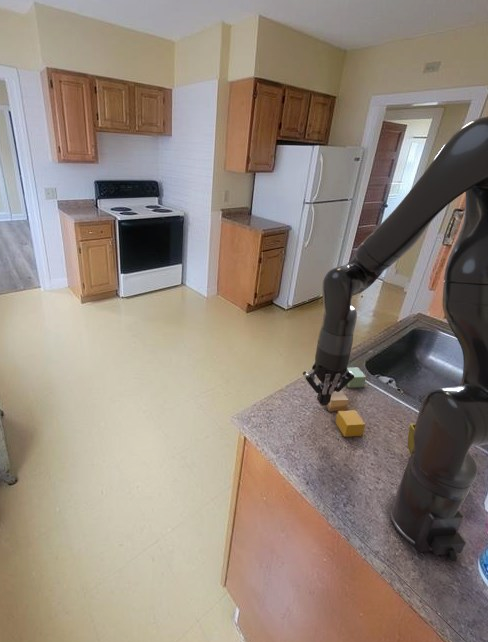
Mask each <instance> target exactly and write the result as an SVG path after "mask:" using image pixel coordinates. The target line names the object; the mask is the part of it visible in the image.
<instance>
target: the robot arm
mask: <svg viewBox="0 0 488 642" xmlns="http://www.w3.org/2000/svg"><path fill="white" fill-rule="evenodd" d="M463 194H465V203H464V204H465V205H464V217H463V221H462V226H461V228H460V231H459V233H458V235H457V238H456V239H455V243H454V245H453V247H452V249H451V252H450V254H449V256H448V259H447V261H446V264H445V269H444V275H443V285H442V286H443V287H442V299H441V300H442V301H441V303H442V312H443V314H444V317H445V320H446V321H447V324H448V327H449V328H450V330H451V331H452V333H453V334H454V337H455V338H456V339H457V341H458V344H459V346H460V348H461V352H462V358H463V368H462V377H461V382H460V385H456V386H446V387H445V386H444V387H437V388H433V389H431V390H430V391H428V392H427V393H425V394H426V395H424V398H423V399H422V402H421V404H420V407H419V410H418V414H417V418H416V421H415V424H416V425H415V429H414V448H413V451H412V453H411V454H410V456H409V459H408V462H407V464H406V467H405V469H404V472H403V475H402V478H401V480H400V482H399V486H398V489H397V491H396V494H395V497H394V499H393V502H392V504H391V505H390V510H389V516H390V517H389V518H390V520H391V522H392V525H393V526H394V528H395V529H396V531H397V532H398V534H399V535H401V537H402V538H403V539H404V540H406V541H407V542H408V543H409V544H410V545H412V546H413V547H414V548H415V550H416V551H417V553H427V552H433V554H434V555H435V556H442V555H443V556H444V557H445V558H446V560H448V561H449V562H456V561H457V559H458V556H457V554H461V553H462V551H463V549H464V548H465V546H466V544H467V542H466V541H465V540H464V538H463V537H462V536H461V534H460V533H459V532H458V531H459V528H460V526H461V524H462V523H463V520H464V518H465V516H464V515H463V513H462V512H461V509H462V507H463V505H464V503H465V501H466V499H467V497H468V495H469V492H470V491H471V489H472V487H473V485H474V482H475V481H476V479H477V477H478V473H479V467H478V464H477V461H476V459H475V457H474V456H473V455H472V453H470V449H471V448H472V447H478V446H486V445H488V115H487V116H482V117H479V118H476V119H474V120H471V121H470V122H468V123H466V124H464V125H463V126H462V127H461V128H459V129H458V130H457V131H455V133H454V134H453V135H452V136H451V137H450V138H449V140H448V141H447V142H446V143H445V144H444V145H443V147H442V148H441V150H439V152H438V154H437V155H436V156H435V157H434V159H433V160H432V161H431V163H430V164H429V166H428V167H427V168H426V170H425V171H424V173H423V174H422V175H421V176H420V177H419V179H418V180H416V183H415V184H414V185H413V186H412V188H411V189H410V191H408V193H407V194H406V195H405V196H404V198H403V199H402V200H401V201H400V202H399V204H398V205H397V206H396V208H394V209H393V211H392V212H391V213H390V214H389V215H388V216H387V217H386V218H385V219H384V220H383V222H381V223H380V224H379V225H378V226H376V228H375V229H374V230H373V231H372V232H371V233H370V234H369V235H368V236H367V237H366V238H365V239H364V240H363V241H362V242H361V243H360V244H359V246H358V247H357V248H356V250H355V253H354V257H353V258H352V259H351V260H350V261H349V262H348V263H346V264H343V265H340V266H337V267H334V268H331V269H329V270H328V272H327V273H326V274H325V276H324V277H323V281H322V285H321V290H322V291H321V293H322V302H323V303H322V304H323V315H322V322H321V327H320V330H319V333H318V337H317V344H316V350H315V356H314V364H313V365H312V366H311V370H309V371H306V370H305V371H303V372H302V375H303V377H304V379H305V380H306V381H307V383H308V385H310V387H311V388H312V389H313V390H314V392H315V393H316V394H317V396H316V397H317V398H316V399H317V402H318V403H319V404H320V405H321V406H322V407H324V406H325V407H327V406H326V405H328V403H329V402H330V399H331V394H333V392H334V391H336V392H339V391H340V390H343V389H344V388H345V387H347V384H348V383H349V382H350V381H351V380H352V379H353V378H354V375H353V374H352V373H351V371H350V370H349V369H347V368H348V366H349V361H350V358H351V357H350V356H351V352H352V348H353V343H354V333H355V328H356V324H357V317H358V313H357V309H356V308H355V307H354V306H353V305H352V299H353V297H355V296H357V295H359V294H361V293H363V292H365V291H366V290H367V289H369V288H370V287H371V286H372V285H373V284H374V283H375V282H376V281H377V280H378V279H379V278H380V276H381V275H382V274H383V273H384V271H386V270H387V269H388V268H390V267H391V266H392V265H394V264H395V263H396V262H397V261H398V260H399V259H401V258H402V257H403V256H404V255H405V254H407V253H408V251H410V250H411V249H412V248H413V247H414V246H415V245H416V243H418V241H419V240H420V239H421V238H422V236H423V234H424V233H425V231H427V229H428V228H429V226H430V225H431V223H432V222H433V220H435V218H436V217H437V216H438V215H439V214H440V213H441V211H443V210H444V209H445V208H446V207H447V206H448V205H450V204H451V203H452V202H453V201H454V200H456V199H458V198H459V197H460V196H462V195H463ZM315 376H316V377H317V381H318V384H317V382H315V380H316V377H315Z"/></svg>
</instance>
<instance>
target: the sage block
mask: <svg viewBox="0 0 488 642" xmlns="http://www.w3.org/2000/svg"><path fill="white" fill-rule="evenodd" d="M347 369H349V370H350V371H351V373H352V374H353V375H354V378H353V379H352V380H351V381H350V382H349V383H348V384H347V385H346V387H348V388H349V389H350V388H352V389H353V388H364V387H365V383H366V379H367V376H366V375H365V374H364V373H363V371H362V370H361V369H360V368H359V367H347Z"/></svg>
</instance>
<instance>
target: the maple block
mask: <svg viewBox="0 0 488 642" xmlns="http://www.w3.org/2000/svg"><path fill="white" fill-rule="evenodd" d="M348 403H349V399H348V397H347V396H346V394H345V393H344V391H343V389H341V390H340V391H339V392H336V391H334V392H333V394H331V399H330V402H329V403H328V405H326V406H325V407H326V408H327V410H328V412H338V411H347V408H348Z"/></svg>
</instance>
